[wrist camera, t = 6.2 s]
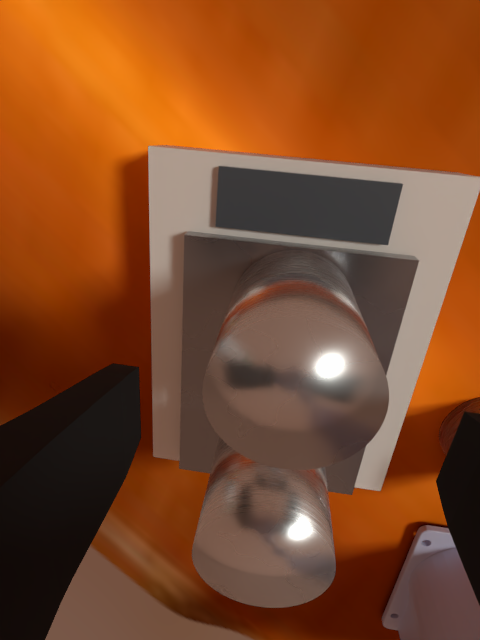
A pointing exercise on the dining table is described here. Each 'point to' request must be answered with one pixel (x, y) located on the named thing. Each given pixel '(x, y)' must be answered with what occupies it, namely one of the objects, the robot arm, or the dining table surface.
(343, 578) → the dining table surface
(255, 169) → the scale
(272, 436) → the cylinder
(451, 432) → the cylinder
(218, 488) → the cylinder
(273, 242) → the grey metal plate
